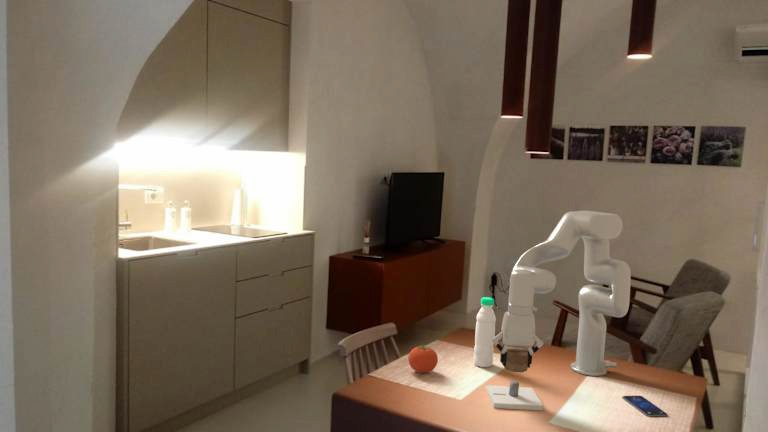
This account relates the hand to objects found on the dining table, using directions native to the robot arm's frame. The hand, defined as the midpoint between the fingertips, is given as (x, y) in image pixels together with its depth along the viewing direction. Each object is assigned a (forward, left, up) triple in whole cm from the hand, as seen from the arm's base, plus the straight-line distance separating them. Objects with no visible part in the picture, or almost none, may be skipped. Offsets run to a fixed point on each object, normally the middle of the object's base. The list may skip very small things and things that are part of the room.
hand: (515, 365), depth 185 cm
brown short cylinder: (0, 0, -1) cm, 1 cm away
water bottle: (+4, -31, -12) cm, 33 cm away
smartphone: (-42, 0, -12) cm, 43 cm away
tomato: (+27, -20, -12) cm, 36 cm away
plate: (0, 0, -11) cm, 11 cm away
